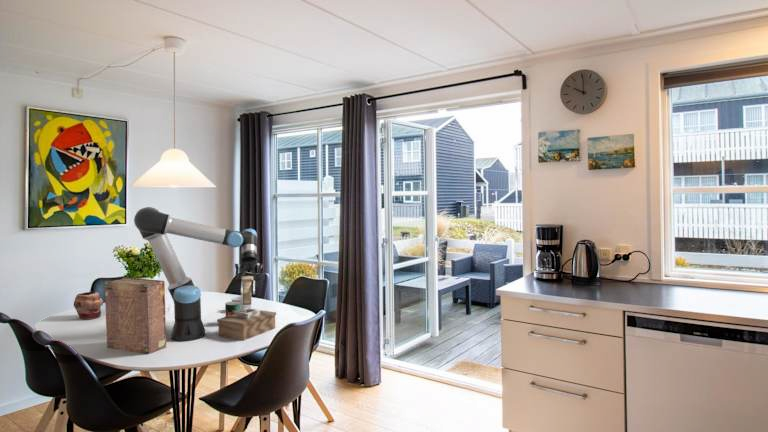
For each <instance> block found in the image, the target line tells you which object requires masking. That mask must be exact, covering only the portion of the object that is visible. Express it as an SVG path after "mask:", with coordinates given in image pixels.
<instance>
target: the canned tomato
mask: <svg viewBox="0 0 768 432" xmlns="http://www.w3.org/2000/svg"><path fill="white" fill-rule="evenodd" d="M224 305H225V306H224V308H225V317H227V316H230V315H233V314H235V312H236V311H239V310H241V302H240V301H232V300H231V301H227V302H225V303H224Z"/></svg>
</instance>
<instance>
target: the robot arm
mask: <svg viewBox="0 0 768 432" xmlns="http://www.w3.org/2000/svg"><path fill="white" fill-rule="evenodd" d="M133 222H134V225H135V227H136V229H138V231H139V234H140V235H141V238H142V239H143V240H145V241H147V242H148V244H149V246H150V247H151V250H152V251H153V255H154V256H155V258H156V260H157V262H158V264H159V266H160V268H161V271H162V272H163V274H164V277H165V278H166V280H167V282H168V287H167V291H168V292H169V295H170V297H171V298H172V301H173V304H174V305H173V308H174V323H173V327H172V331H171V332H170V333H171V334H170V339H171V340H172V341H175V342H189V341H193V340H198V339H202V338H204V336H205V335H206V329H205V326H204V324H203V320H202V309H201V308H202V306H201V305H202V303H201V301H202V300H201V296H202V293H201V289H200V287H198V286H196V285H195V284H194V281H193V280H192V278H191V277H188V276H187V275H186V273H185V271H184V269H183V266H182V265H181V262H180V260H179V258H178V256H177V253H176V252H175V249H174V247H173V246H172V244H171V241H170V239H169V237H168V235H167V234H169V235H174V236H179V237H185V238H188V239H189V238H190V239H195V240H198V241H203V242H209V243H212V244H213V243H214V244H219V245H222V246H228V247H231V248H235V249H236V248H238V247H241V257H240V258H241V259H240V262H239V263H235V264H234V268H235V276H234V277H235V279H234V280H235V283H238V288H239V289H240V296H242V295H243V281H242V280H241V277H242V276H246V273H247V272H248V271H250V272H251V273H252V276H253V280H252V282H253V283H252V295H255V294H256V289H257V288H258V282H260V283H261V282H262V269H263V262H260V263H259V262H258V259H257V257H258V256H257V254H258V253H257V252H258V248H257V247H258V233H257V231H256V230H255V229H253V228H246V229H244V230H243V231H239V230H238V231H237V230H234V229H229V228H219V227H216V226H211V225H208V224H207V225H206V224H204V223H203V224H202V223H199V222H194V221H189V220H184V219H180V218H176V217H172V216H171V215H170V214H167V213H163V212H160V211H159V210H158V209H157V208H155V207H152V206H145V207H142V208H140V209H139V210H138V211H136V214H135V215H134V219H133ZM256 267H257V268H258V277H257V274H256V270H255V268H256ZM240 268H242V270H241V273H240V275H239V270H240Z"/></svg>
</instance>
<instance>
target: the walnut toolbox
mask: <svg viewBox="0 0 768 432" xmlns="http://www.w3.org/2000/svg"><path fill="white" fill-rule="evenodd" d="M276 315H277V311H276V312H275V311H269V310H261V309H257V308H245V309H242V310H239V311H236V312H235V314H233V315H230V316H227V317H226V316H224V317H220V318H218V319H216V322H217V323H218V336H219V337H223V338H228V339H233V340H240V341H246V340H249V339H251V338H254V337H257V336H258V335H262V334H264V333H267V332H270V331H272V330H273V329H276Z"/></svg>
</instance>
